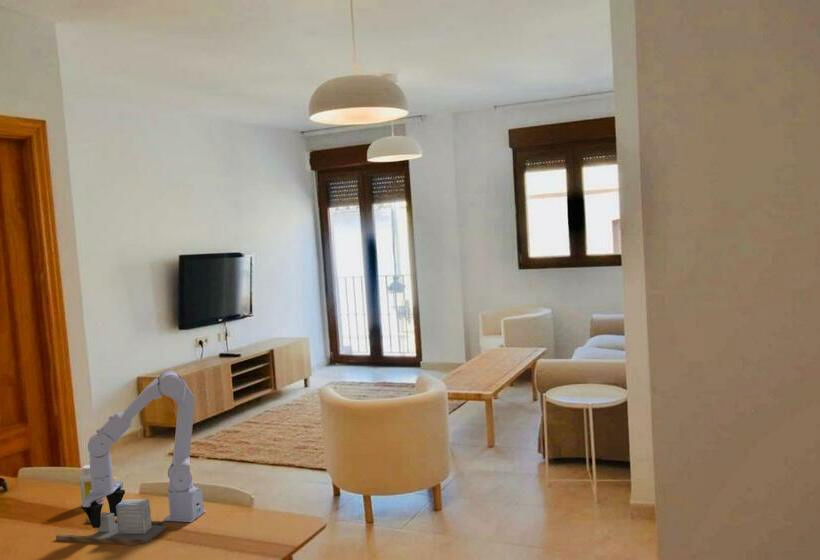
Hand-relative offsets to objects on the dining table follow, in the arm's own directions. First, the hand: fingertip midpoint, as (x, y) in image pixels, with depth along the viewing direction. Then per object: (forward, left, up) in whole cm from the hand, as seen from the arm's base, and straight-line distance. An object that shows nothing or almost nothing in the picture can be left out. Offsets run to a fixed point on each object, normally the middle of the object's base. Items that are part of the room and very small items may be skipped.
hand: (105, 521), depth 185 cm
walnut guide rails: (-1, 0, -3) cm, 3 cm away
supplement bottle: (+20, -18, -3) cm, 27 cm away
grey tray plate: (-8, 0, -3) cm, 8 cm away
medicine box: (-10, 0, -3) cm, 10 cm away
